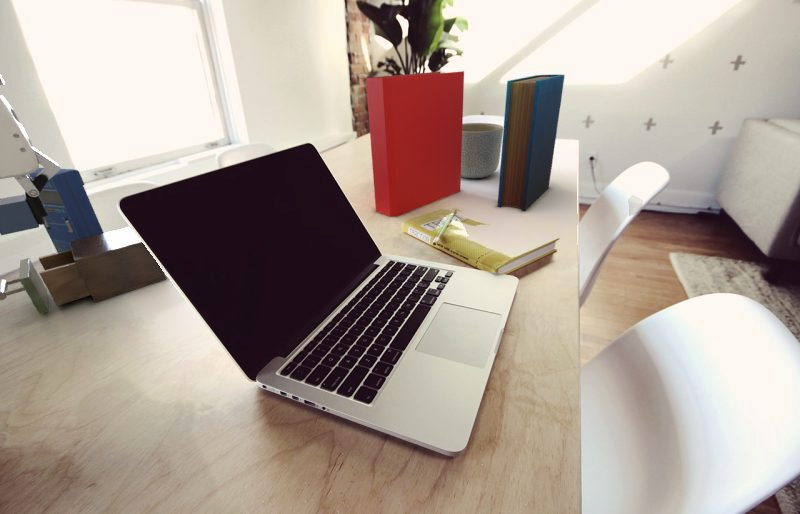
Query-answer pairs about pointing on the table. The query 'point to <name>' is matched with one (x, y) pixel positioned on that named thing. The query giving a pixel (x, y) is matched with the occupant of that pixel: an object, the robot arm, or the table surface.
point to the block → (16, 215)
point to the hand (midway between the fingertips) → (20, 225)
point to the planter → (480, 149)
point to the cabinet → (115, 263)
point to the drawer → (49, 281)
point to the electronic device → (67, 209)
